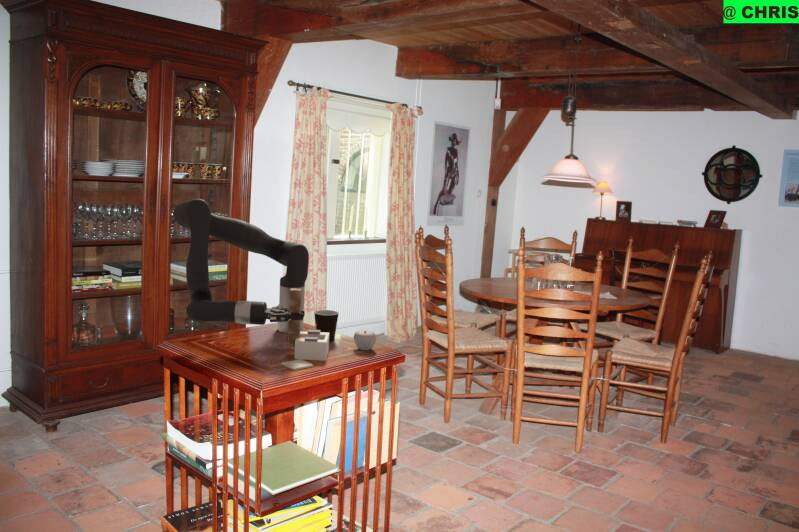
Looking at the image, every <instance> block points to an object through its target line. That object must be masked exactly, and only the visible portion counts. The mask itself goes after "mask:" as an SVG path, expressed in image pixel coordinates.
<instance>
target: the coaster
mask: <svg viewBox="0 0 799 532" xmlns="http://www.w3.org/2000/svg"><path fill="white" fill-rule="evenodd" d="M281 366H284V367H285V368H288V369H290V370H291V371H299V370H303V369H309V368H314V364H312V363H311V362H308V361H306V360H301V359H293V360H289V361H283V362H281Z"/></svg>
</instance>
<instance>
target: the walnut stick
mask: <svg viewBox="0 0 799 532" xmlns="http://www.w3.org/2000/svg"><path fill="white" fill-rule="evenodd" d="M301 298H302V289H296V288H291V289H290V297H289V312H291V314H292V313H301ZM300 323H301V320H290V321H289V324H288V333H287V348H290V349H291V348H294V349H295V340H296V338H297V339H300Z"/></svg>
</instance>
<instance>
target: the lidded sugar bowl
mask: <svg viewBox="0 0 799 532" xmlns="http://www.w3.org/2000/svg"><path fill="white" fill-rule="evenodd" d="M376 341H377V336H376V334H375V332H374V331H372V330H358V331H355V332H354V335H353V342H354V344H355V346H356V348H357V349H358V350H359V349H360V350H359V351H370V350H371V349H373V347H374V346H375V345H376ZM369 349H370V350H369Z"/></svg>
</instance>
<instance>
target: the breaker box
mask: <svg viewBox="0 0 799 532" xmlns="http://www.w3.org/2000/svg"><path fill="white" fill-rule="evenodd" d="M300 337H305V339H297V338H296V340H295V348H294V360H299V359H301V360H303V361H306V360H307V361H309V360H310V361H327V357H328V353H329V348H330V347H329V346H330V342H329V333H327V332H321V330H316V329H308V330H307V331H306V330H305V331H304V330H303V331H300ZM318 338H319V339H318Z"/></svg>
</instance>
